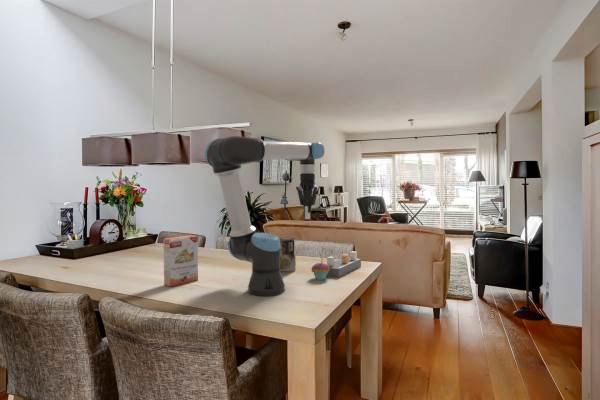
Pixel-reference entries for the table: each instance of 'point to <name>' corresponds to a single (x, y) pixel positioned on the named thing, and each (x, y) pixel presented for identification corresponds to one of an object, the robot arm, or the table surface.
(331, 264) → the switch
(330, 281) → the table surface
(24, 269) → the table surface
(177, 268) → the cracker box
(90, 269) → the table surface
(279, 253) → the robot arm
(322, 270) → the cupcake
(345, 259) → the switch
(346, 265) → the power bar
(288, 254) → the coffee box
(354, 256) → the switch
